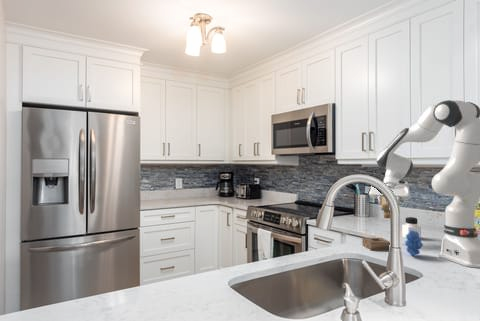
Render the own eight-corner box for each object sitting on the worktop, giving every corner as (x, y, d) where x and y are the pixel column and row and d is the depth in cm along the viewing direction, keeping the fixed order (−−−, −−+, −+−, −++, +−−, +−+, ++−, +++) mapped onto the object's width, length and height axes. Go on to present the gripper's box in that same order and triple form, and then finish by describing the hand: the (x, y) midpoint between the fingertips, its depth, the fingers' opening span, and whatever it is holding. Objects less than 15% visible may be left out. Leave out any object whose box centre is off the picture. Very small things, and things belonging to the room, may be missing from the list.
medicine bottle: (421, 239, 178) (421, 218, 178) (408, 239, 178) (408, 218, 178) (414, 237, 185) (414, 216, 185) (402, 236, 185) (402, 216, 185)
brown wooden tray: (391, 250, 154) (391, 242, 154) (371, 250, 153) (371, 242, 153) (381, 245, 164) (381, 237, 164) (362, 245, 163) (362, 237, 163)
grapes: (416, 260, 138) (416, 233, 138) (401, 256, 143) (401, 230, 144) (429, 256, 144) (429, 230, 145) (414, 253, 150) (414, 227, 150)
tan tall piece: (395, 218, 165) (395, 197, 165) (384, 218, 165) (384, 197, 165) (389, 217, 171) (389, 196, 171) (379, 216, 171) (379, 196, 171)
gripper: (370, 180, 180) (365, 198, 172) (410, 181, 168) (407, 201, 160) (372, 187, 184) (367, 206, 176) (412, 189, 171) (408, 209, 163)
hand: (386, 204), depth 168 cm, fingers closed on tan tall piece, 6 cm apart
